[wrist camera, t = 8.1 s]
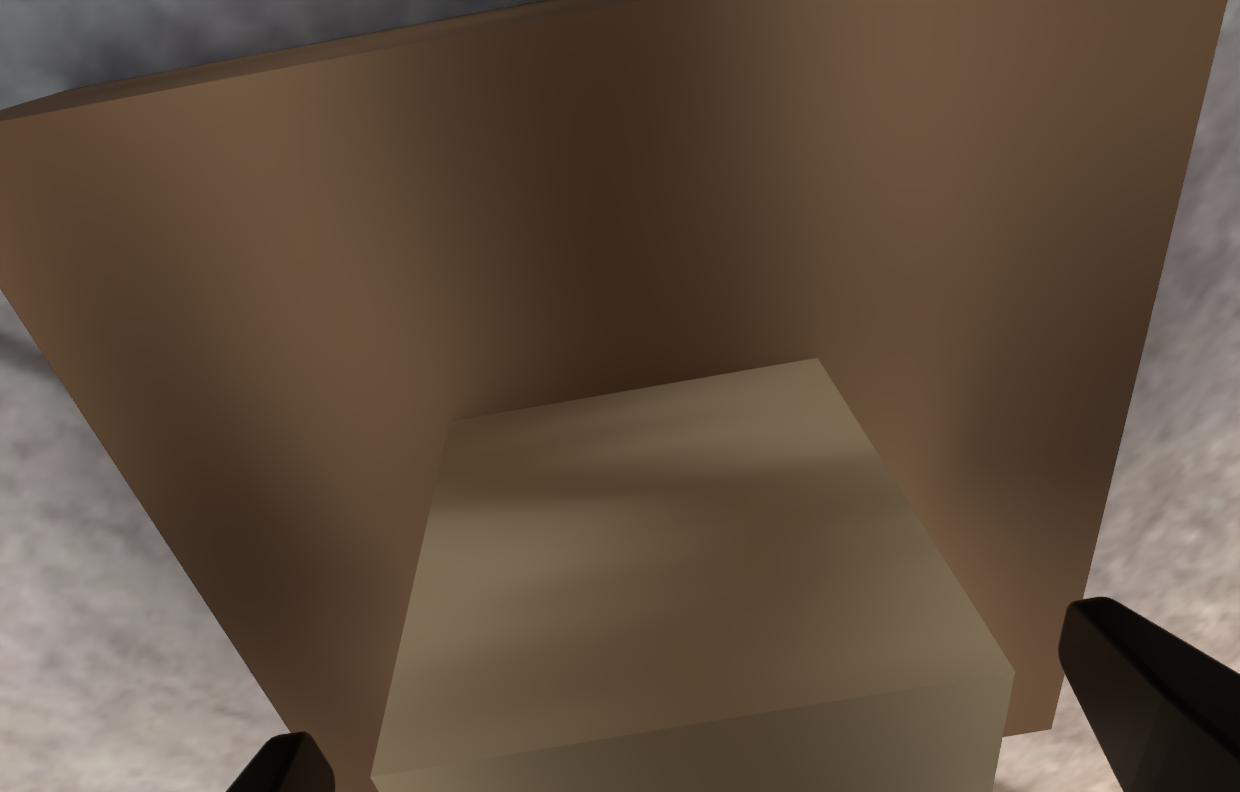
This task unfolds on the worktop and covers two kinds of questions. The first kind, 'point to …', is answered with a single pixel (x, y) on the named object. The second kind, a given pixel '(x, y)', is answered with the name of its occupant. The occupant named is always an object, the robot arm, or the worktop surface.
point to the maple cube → (686, 606)
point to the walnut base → (605, 279)
